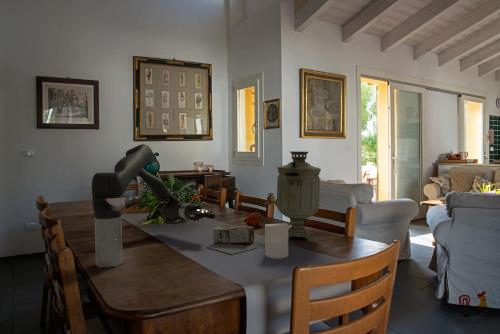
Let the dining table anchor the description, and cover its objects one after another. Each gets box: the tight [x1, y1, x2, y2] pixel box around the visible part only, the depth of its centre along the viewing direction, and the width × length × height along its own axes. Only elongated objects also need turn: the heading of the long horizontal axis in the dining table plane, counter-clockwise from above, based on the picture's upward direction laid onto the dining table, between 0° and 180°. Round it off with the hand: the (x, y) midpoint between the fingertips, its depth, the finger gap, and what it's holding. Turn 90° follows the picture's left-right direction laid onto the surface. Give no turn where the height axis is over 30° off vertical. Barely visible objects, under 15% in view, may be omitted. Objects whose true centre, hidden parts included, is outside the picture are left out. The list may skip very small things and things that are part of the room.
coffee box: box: [213, 225, 255, 246], centre depth 170 cm, size 9×6×16 cm
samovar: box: [263, 151, 322, 242], centre depth 180 cm, size 30×26×40 cm
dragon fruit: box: [243, 211, 265, 228], centre depth 206 cm, size 8×8×12 cm
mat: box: [206, 243, 258, 256], centre depth 161 cm, size 16×14×1 cm
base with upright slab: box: [264, 222, 289, 259], centre depth 150 cm, size 9×9×12 cm
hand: (213, 216), depth 169 cm, fingers closed
